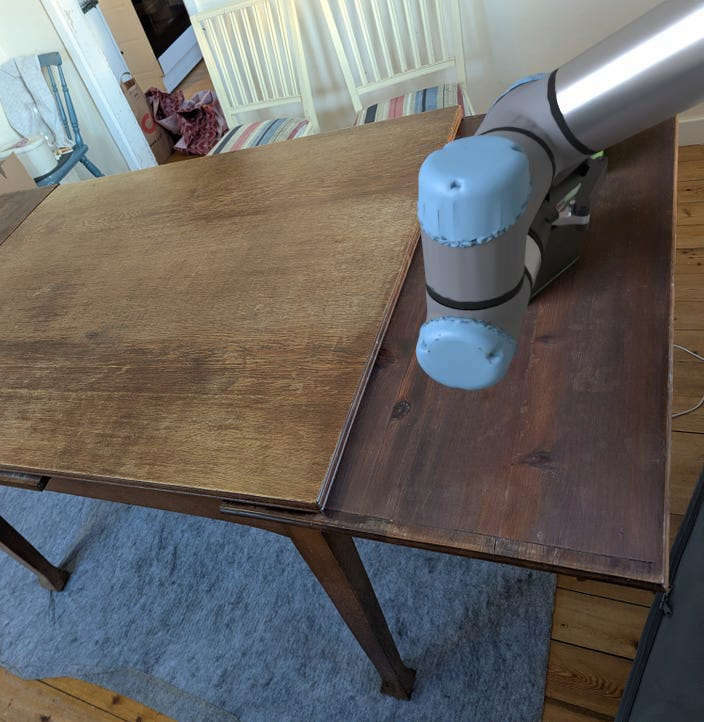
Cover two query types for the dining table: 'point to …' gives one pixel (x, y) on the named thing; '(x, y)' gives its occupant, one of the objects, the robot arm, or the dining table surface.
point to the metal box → (558, 253)
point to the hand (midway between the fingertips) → (542, 134)
